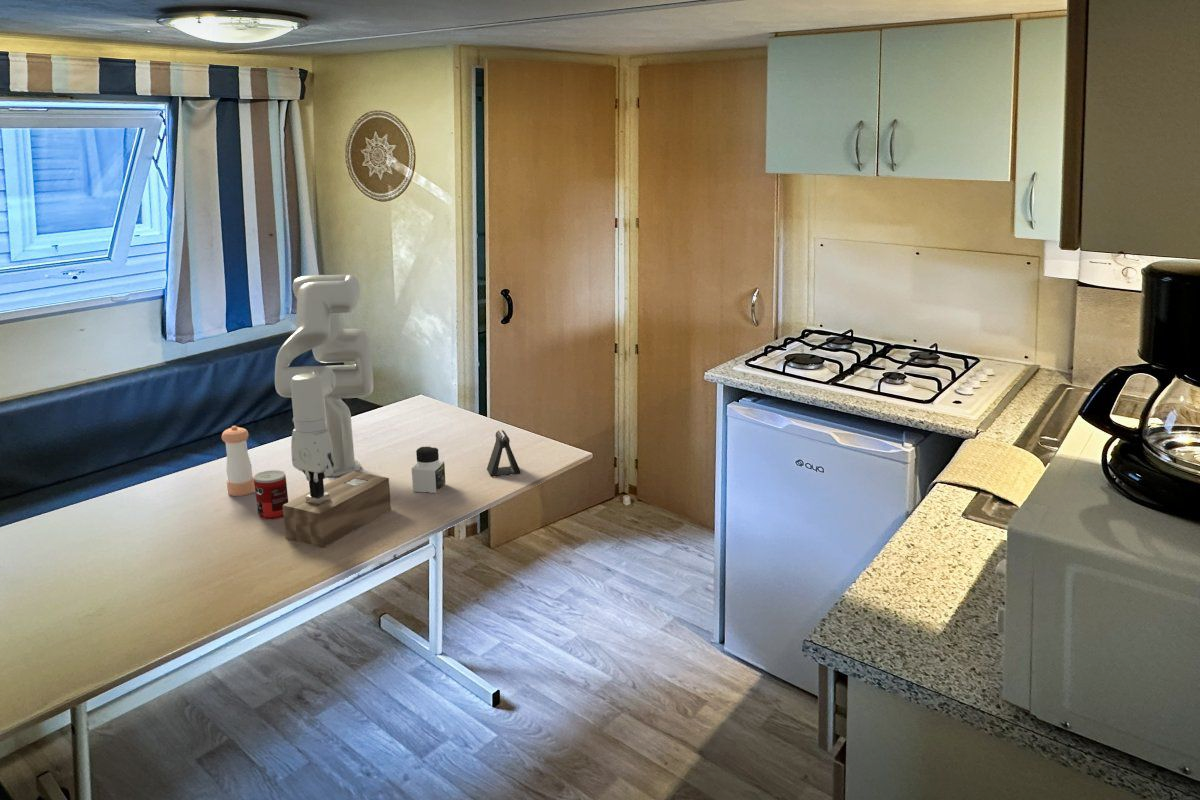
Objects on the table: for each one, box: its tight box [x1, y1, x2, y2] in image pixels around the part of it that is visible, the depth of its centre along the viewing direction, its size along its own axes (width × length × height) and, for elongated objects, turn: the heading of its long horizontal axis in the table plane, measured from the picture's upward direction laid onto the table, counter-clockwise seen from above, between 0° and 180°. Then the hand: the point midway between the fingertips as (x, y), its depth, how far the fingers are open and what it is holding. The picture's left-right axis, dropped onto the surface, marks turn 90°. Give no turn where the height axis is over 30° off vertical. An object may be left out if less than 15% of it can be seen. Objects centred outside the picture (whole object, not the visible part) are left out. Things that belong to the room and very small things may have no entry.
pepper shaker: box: [221, 425, 255, 497], centre depth 267 cm, size 7×7×19 cm
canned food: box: [253, 469, 289, 521], centre depth 252 cm, size 8×8×11 cm
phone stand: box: [486, 429, 522, 478], centre depth 281 cm, size 9×6×12 cm, turn 106°
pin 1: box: [306, 492, 330, 506], centre depth 240 cm, size 4×4×8 cm
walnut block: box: [282, 471, 392, 549], centre depth 246 cm, size 12×26×9 cm, turn 153°
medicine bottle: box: [411, 445, 446, 494], centre depth 269 cm, size 7×7×12 cm
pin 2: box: [345, 478, 367, 486], centre depth 252 cm, size 4×4×8 cm
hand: (317, 494), depth 238 cm, fingers closed
